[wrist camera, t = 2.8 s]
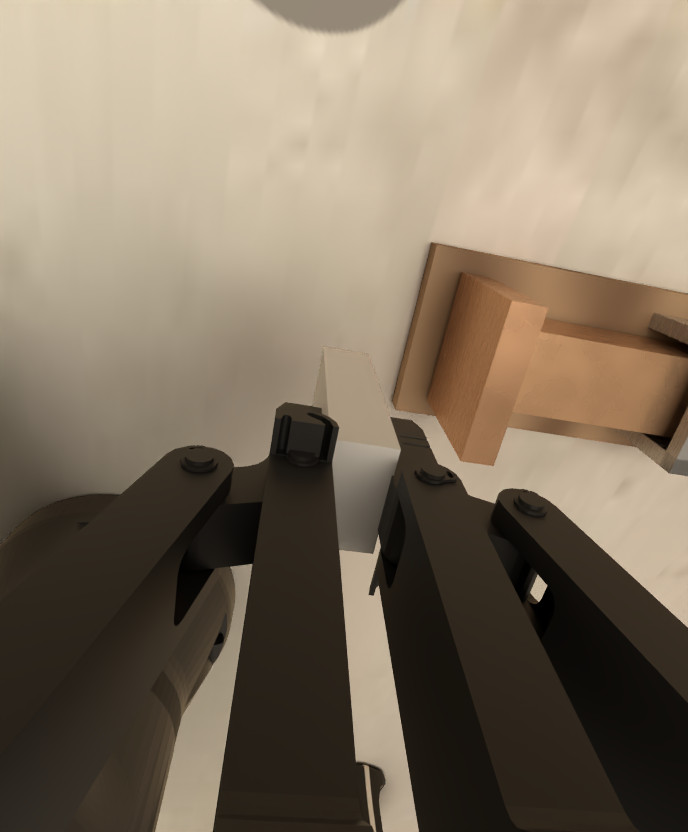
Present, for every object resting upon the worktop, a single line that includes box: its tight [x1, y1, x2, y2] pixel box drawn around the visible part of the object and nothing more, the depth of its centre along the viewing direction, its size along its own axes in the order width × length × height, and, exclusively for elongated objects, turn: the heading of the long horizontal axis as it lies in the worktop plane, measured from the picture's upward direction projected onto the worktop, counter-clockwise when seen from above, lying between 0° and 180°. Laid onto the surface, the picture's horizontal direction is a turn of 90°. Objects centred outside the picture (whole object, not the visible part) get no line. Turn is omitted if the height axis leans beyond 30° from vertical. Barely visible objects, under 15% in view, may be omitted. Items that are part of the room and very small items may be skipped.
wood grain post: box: [427, 272, 688, 466], centre depth 26 cm, size 20×7×7 cm, turn 79°
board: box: [392, 243, 688, 447], centre depth 30 cm, size 32×9×1 cm, turn 79°
